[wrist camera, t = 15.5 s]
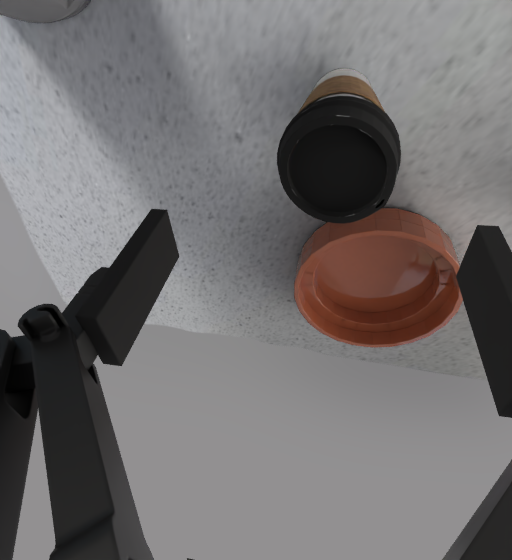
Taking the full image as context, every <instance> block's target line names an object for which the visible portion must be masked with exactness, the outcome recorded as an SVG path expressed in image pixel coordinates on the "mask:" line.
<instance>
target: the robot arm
mask: <svg viewBox="0 0 512 560" xmlns="http://www.w3.org/2000/svg"><path fill="white" fill-rule="evenodd" d="M90 1H91V0H0V14H1V15H4V16H7V17H11V18H14V19H18V20H21V21H25V22H32V23H52V22H57V21H60V20H64V19H67V18H70V17H72V16H74V15H76V14H78V13H79V12H81V11H82V10H83V9H84V8H85V7H86V6H87V5H88V4H89V2H90ZM178 258H179V253H178V250H177V246H176V242H175V238H174V234H173V231H172V227H171V223H170V219H169V215H168V212H167V210H160V209H151V210H150V212H149V213H148V215H147V216H146V217H145V219H144V220H143V222H142V223H141V224H140V226H139V227H138V229H137V230H136V231H135V233H134V234H133V236H132V237H131V238H130V240H129V241H128V243H127V244H126V245H125V247H124V248H123V250H122V251H121V252H120V254H119V255H118V257H117V258H116V259H115V261H114V262H113V264H112V265H111V266H110V268H106V267H101V268H100V269H98V270H97V271H96V272H94V273H93V274H92V275H91V276H90V277H89V278H88V280H87V281H86V282H85V284H84V286H82V287H81V289H80V290H79V291H78V292H79V293H77V294H76V295H75V297H74V298H73V299H72V301H71V302H70V303H69V305H68V306H67V307H66V309H65V310H64V311H63V313H61V312H60V310H59V309H58V307H57V306H55V305H53V304H42V305H38V306H36V307H34V308H32V309H30V310H28V311H27V312H26V313H25V314H23V315H22V317H21V318H20V320H19V322H18V327H19V328H20V329H21V331H22V332H23V334H24V336H18V337H12V338H11V337H10V336H9V334H8V333H7V332H6V331H5V330H1V329H0V560H12V558H13V552H14V546H15V540H16V534H17V529H18V523H19V517H20V511H21V505H22V499H23V493H24V488H25V482H26V476H27V470H28V464H29V458H30V452H31V446H32V440H33V435H34V428H35V422H36V417H37V411H38V409H39V416H40V424H41V432H42V439H43V447H44V455H45V463H46V470H47V478H48V485H49V493H50V501H51V508H52V516H53V524H54V532H55V539H56V540H55V541H56V545H55V549H54V551H53V552H52V553H51V555H50V559H49V560H154V558H153V556H152V553H151V551H150V549H149V547H148V545H147V543H146V540H145V538H144V535H143V532H142V528H141V524H140V521H139V517H138V514H137V510H136V507H135V503H134V500H133V496H132V493H131V489H130V486H129V482H128V479H127V475H126V472H125V468H124V465H123V461H122V458H121V454H120V451H119V447H118V444H117V440H116V437H115V433H114V430H113V426H112V423H111V419H110V416H109V413H108V409H107V405H106V402H105V398H104V395H103V391H102V388H101V384H100V381H99V377H98V374H97V370H96V367H95V366H94V364H93V362H94V360H95V359H96V357H97V355H99V357H100V359H101V361H102V362H103V364H110V365H118V366H122V364H123V362H124V360H125V358H126V357H127V355H128V353H129V351H130V349H131V347H132V345H133V343H134V341H135V340H136V338H137V336H138V334H139V332H140V330H141V328H142V326H143V324H144V322H145V321H146V319H147V317H148V315H149V313H150V311H151V309H152V307H153V305H154V303H155V302H156V300H157V298H158V296H159V294H160V292H161V290H162V288H163V286H164V284H165V282H166V281H167V279H168V277H169V275H170V273H171V271H172V269H173V267H174V265H175V263H176V262H177V260H178ZM456 279H457V282H458V285H459V288H460V292H461V295H462V298H463V301H464V304H465V308H466V311H467V314H468V317H469V321H470V324H471V327H472V330H473V334H474V337H475V340H476V343H477V346H478V350H479V353H480V356H481V359H482V363H483V366H484V369H485V372H486V376H487V379H488V382H489V385H490V389H491V392H492V395H493V398H494V401H495V405H496V408H497V411H498V414H499V416H503V417H511V418H512V252H511V250H510V248H509V246H508V244H507V242H506V240H505V238H504V236H503V234H502V232H501V230H500V228H499V226H484V225H477V227H476V230H475V232H474V234H473V237H472V239H471V241H470V244H469V246H468V249H467V251H466V253H465V256H464V258H463V260H462V263H461V265H460V268H459V270H458V272H457V275H456ZM187 560H193V559H188V558H187ZM442 560H512V460H511V462H510V463H509V465H508V466H507V467H506V469H505V470H504V472H503V473H502V475H501V476H500V477H499V479H498V481H497V482H496V483H495V485H494V486H493V488H492V489H491V490H490V492H489V493H488V495H487V496H486V498H485V499H484V500H483V502H482V504H481V505H480V506H479V508H478V509H477V510H476V512H475V513H474V515H473V516H472V518H471V519H470V521H469V522H468V523H467V525H466V526H465V528H464V529H463V531H462V532H461V534H460V535H459V536H458V538H457V539H456V541H455V542H454V544H453V545H452V546H451V548H450V549H449V551H448V552H447V553H446V555H445V557H444V558H443V559H442Z"/></svg>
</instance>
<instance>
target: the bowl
mask: <svg viewBox="0 0 512 560" xmlns="http://www.w3.org/2000/svg"><path fill="white" fill-rule="evenodd" d="M459 268H460V264H459V261H458V258H457V255H456V252H455V249H454V247H453V244H452V242H451V240H450V238H449V237H448V236H447V235H446V234H445V233H444V231H443V230H442V229H441V228H440V227H439V226H438V225H436V224H435V223H433V222H431V221H430V220H428V219H426V218H424V217H423V216H421V215H419V214H415V213H412V212H408V211H405V210H401V209H395V208H381V209H380V210H378V211H377V212H375V213H373V214H372V215H370V216H368V217H366V218H364V219H362V220H359V221H356V222H352V223H345V224H340V223H331V222H327V223H326V224H324V225H323V226H322V227H320V228H319V229H318V230H316V231H315V232H314V233H313V234H312V236H311V237H310V238H309V239H308V241H307V242H306V243H305V245H304V246H303V249H302V251H301V254H300V257H299V259H298V265H297V271H296V277H295V283H294V298H295V300H296V303H297V306H298V309H299V311H300V313H301V314H302V315H303V316H304V318H305V319H306V320H307V322H308V323H309V324H310V325H312V326H313V327H314V328H316V329H317V330H318V331H319V332H321V333H322V334H324V335H327V336H329V337H331V338H333V339H335V340H337V341H341V342H344V343H348V344H351V345H356V346H365V347H392V346H398V345H403V344H407V343H412V342H415V341H417V340H420V339H422V338H425V337H427V336H430V335H431V334H433V333H434V332H436V331H437V330H439V329H440V328H442V327H443V326H445V325H446V324H447V323H448V322H449V321H450V320H451V319H452V317H453V316H454V315H455V314H456V313H457V312H458V310H459V307H460V305H461V303H462V301H463V298H462V295H461V292H460V288H459V285H458V282H457V279H456V275H457V272H458V270H459Z"/></svg>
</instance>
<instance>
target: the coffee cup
mask: <svg viewBox="0 0 512 560" xmlns="http://www.w3.org/2000/svg"><path fill="white" fill-rule="evenodd" d="M400 159H401V150H400V141H399V135H398V132H397V130H396V128H395V125H394V123H393V122H392V120H391V119H390V118H389V116H388V115H387V114H386V113H385V111H384V109H383V107H382V106H381V104H380V102H379V100H378V98H377V96H376V94H375V92H374V91H373V89H372V87H371V84H370V83H369V81H368V80H367V78H366V77H365V76H364V75H362V74H361V73H360V72H358V71H356V70H352V69H344V68H342V69H336V70H334V71H331V72H329V73H328V74H326V75H325V76H323V77H322V78H321V79H320V80H319V81H318V83H317V84H316V85H315V87H314V89H313V90H312V92H311V94H310V95H309V97H308V98H307V100H306V101H305V103H304V104H303V106H302V108H301V109H300V111H299V112H298V114H297V115H296V116H295V117H294V118H293V119H292V120H291V122H290V123H289V125H288V126H287V127H286V129H285V131H284V134H283V136H282V138H281V140H280V143H279V148H278V152H277V166H278V171H279V175H280V179H281V183H282V185H283V188H284V190H285V192H286V193H287V195H288V196H289V198H290V199H291V200H292V202H293V203H294V204H295V205H296V206H297V207H299V208H300V209H301V210H303V211H304V212H305V213H307V214H309V215H311V216H312V217H314V218H317V219H320V220H322V221H326V222H331V223H340V224H345V223H352V222H356V221H359V220H362V219H364V218H366V217H368V216H370V215H372V214H373V213H375V212H377V211H378V210H380V209H381V208H382V207H384V205H385V204H386V203H387V201H388V199H389V197H390V195H391V193H392V191H393V188H394V185H395V182H396V178H397V174H398V170H399V166H400Z"/></svg>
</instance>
